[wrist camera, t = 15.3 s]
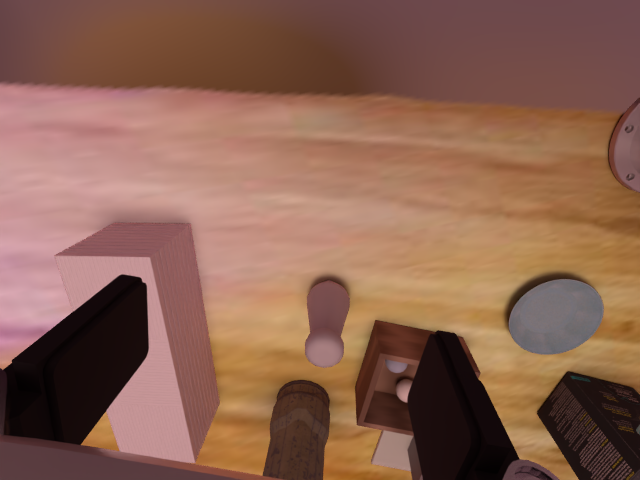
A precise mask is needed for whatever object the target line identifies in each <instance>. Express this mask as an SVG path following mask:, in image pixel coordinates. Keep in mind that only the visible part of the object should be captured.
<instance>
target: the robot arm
mask: <svg viewBox="0 0 640 480" xmlns="http://www.w3.org/2000/svg"><path fill="white" fill-rule="evenodd" d="M609 162H610V166H611V169H612V172H613V173H614V175H615V177H616V179H617V180H618V181H619V182H620V183H621V184H622V185H624V186H625V187H627V188H629V189H630V190H633V191H636V192H639V193H640V98H638V99H637V100H636V101H635V102H634V104H632V105H631V106H630V107H629V108H628V110H627V111H626V112H625V114H624V115H623V116H622V118H621V119H620V121H619V123H618V124H617V126H616V128H615V130H614V133H613V136H612V139H611V142H610V148H609ZM148 351H149V335H148V303H147V285H146V283H144V282H142V279H141V278H140V277H136V276H130V275H125V274H121V275H119V276H118V277H116V278H115V279H114V280H113V281H111V282H110V283H109V284H108V285H106V286H105V287H104V288H103V289H101V290H100V291H99V292H97V293H96V294H95V295H94V296H92V297H91V298H90V299H89V300H87V301H86V302H85V303H84V304H82V305H81V306H80V307H79V308H77V309H76V310H75V311H73V312H72V313H71V314H70V315H68V316H67V317H66V318H65V319H63V320H62V321H61V322H60V323H58V324H57V325H56V326H55V327H53V328H52V329H51V330H50V331H48V332H47V333H46V334H44V335H43V336H42V337H41V338H39V339H38V340H37V341H36V342H34V343H33V344H32V345H31V346H29V347H28V348H27V349H26V350H24V351H23V352H22V353H20V354H19V355H18V356H17V357H15V358H14V359H13V360H12V363H11V364H10V365H9V366H7V367H6V368H5V369H4V370H2V369H1V368H0V480H283V479H277V478H272V477H266V476H260V475H255V474H249V473H243V472H237V471H232V470H226V469H220V468H214V467H209V466H203V465H197V464H191V463H186V462H180V461H174V460H168V459H162V458H156V457H150V456H144V455H138V454H132V453H126V452H120V451H114V450H108V449H102V448H96V447H90V446H83V445H81V443H82V442H83V441H84V439H85V438H86V437H87V435H88V434H89V433H90V432H91V430H92V429H93V428H94V426H95V425H96V424H97V422H98V421H99V420H100V418H101V417H102V416H103V414H104V413H105V412H106V410H107V409H108V408H109V406H110V405H111V404H112V402H113V401H114V400H115V399H116V397H117V396H118V395H119V393H120V392H121V391H122V389H123V388H124V387H125V385H126V384H127V383H128V381H129V380H130V379H131V377H132V376H133V375H134V373H135V372H136V371H137V369H138V368H139V367H140V365H141V364H142V363H143V362H144V360H145V359H146V357H147V354H148ZM407 405H408V410H409V415H410V420H411V425H412V430H413V434H414V439H415V444H416V449H417V453H418V458H419V463H420V468H421V472H422V477H423V480H559V479H558V478H557V477H556V476H555V475H554V474H552V473H551V472H550V471H549V470H547V469H546V468H544V467H542V466H541V465H539V464H537V463H534V462H531V461H529V460H520V459H519V457H518V455H517V453H516V451H515V449H514V447H513V445H512V443H511V441H510V439H509V437H508V435H507V432H506V430H505V428H504V426H503V424H502V422H501V420H500V418H499V416H498V414H497V412H496V410H495V408H494V406H493V404H492V402H491V400H490V398H489V396H488V394H487V392H486V390H485V387H484V385H483V384H482V382H481V381H479V380H478V378H477V376H476V374H475V371H474V369H473V367H472V365H471V363H470V361H469V359H468V357H467V355H466V353H465V351H464V349H463V347H462V344H461V342H460V340H459V338H458V336H457V335H456V334H455V333H450V332H445V331H439V330H438V331H436V332H435V334H430V335H429V337H428V340H427V343H426V346H425V348H424V351H423V354H422V357H421V360H420V362H419V365H418V368H417V371H416V374H415V376H414V379H413V382H412V385H411V388H410V390H409V393H408V398H407Z"/></svg>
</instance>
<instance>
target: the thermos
mask: <svg viewBox="0 0 640 480" xmlns="http://www.w3.org/2000/svg"><path fill="white" fill-rule="evenodd" d="M329 423H330V413H329V397H328V394H327V393H326V391H325V390H324V389H323V388H322V387H321V386H319V385H318V384H316V383H313V382H311V381H305V380H298V381H292V382H290V383H287V384H285V385H284V386H283V387H282V388H281V389H280V391H279V393H278V396H277V402H276V404H275V406H274V409H273V413H272V418H271V422H270V437H271V439H270V444H269V449H268V453H267V458H266V463H265V467H264V472H263V476H266V477H272V478H277V479H283V480H323V467H324V449H325V445H326V442H327V439H328V435H329Z"/></svg>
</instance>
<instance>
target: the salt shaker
mask: <svg viewBox="0 0 640 480" xmlns="http://www.w3.org/2000/svg"><path fill="white" fill-rule="evenodd" d="M349 305H350V298H349V296H348V294H347V292H346V290H345V288H343V287H342V286H341V285H339V284H337V283H335V282H333V281H331V280H327V281H324V282H321V283H319V284H317V285H315V286H314V287H313V288H312V289H311V291H310V292H309V294H308V296H307V308H308V317H309V326H310V334H309V336H308V338H307V339H306V342H305V355H306V357H307V358H308V360H309V361H310V362H311V363H312V364H314V365H315V366H319V367H323V368H324V367H332V366H334V365H336V364H337V363H339V361H340V360H341V359H342V357H343V353H344V343H343V341H342V339H341V337H340V336H341V333H342V330H343V326H344V323H345V320H346V317H347V313H348V310H349Z"/></svg>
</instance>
